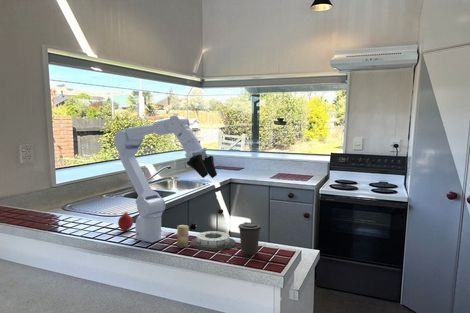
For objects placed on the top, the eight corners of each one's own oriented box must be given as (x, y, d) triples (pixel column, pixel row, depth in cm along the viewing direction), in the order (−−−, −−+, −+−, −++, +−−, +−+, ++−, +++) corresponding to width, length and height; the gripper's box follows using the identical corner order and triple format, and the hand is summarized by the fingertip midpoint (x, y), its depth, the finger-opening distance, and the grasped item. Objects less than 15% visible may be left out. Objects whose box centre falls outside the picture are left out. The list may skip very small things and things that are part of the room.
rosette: (180, 245, 121) (180, 237, 121) (206, 234, 136) (206, 227, 136) (220, 253, 113) (221, 245, 113) (243, 240, 128) (244, 233, 128)
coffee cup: (242, 247, 120) (242, 219, 120) (264, 250, 117) (264, 222, 117) (234, 254, 113) (234, 225, 112) (257, 257, 110) (257, 227, 109)
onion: (128, 233, 134) (128, 214, 134) (115, 232, 135) (115, 213, 135) (135, 230, 140) (135, 211, 140) (122, 229, 141) (122, 210, 141)
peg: (174, 245, 120) (175, 226, 120) (181, 243, 124) (181, 224, 123) (183, 247, 118) (184, 228, 118) (190, 244, 122) (190, 225, 122)
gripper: (189, 135, 110) (210, 168, 107) (207, 140, 124) (227, 170, 120) (173, 147, 112) (193, 181, 108) (193, 151, 125) (212, 181, 122)
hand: (210, 176), depth 114 cm, fingers open, 7 cm apart
